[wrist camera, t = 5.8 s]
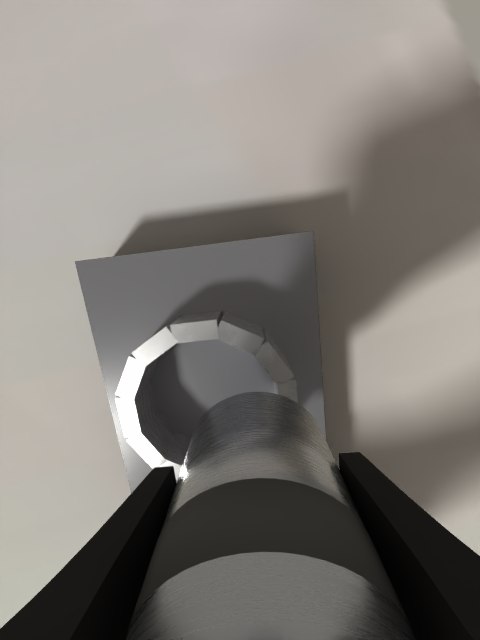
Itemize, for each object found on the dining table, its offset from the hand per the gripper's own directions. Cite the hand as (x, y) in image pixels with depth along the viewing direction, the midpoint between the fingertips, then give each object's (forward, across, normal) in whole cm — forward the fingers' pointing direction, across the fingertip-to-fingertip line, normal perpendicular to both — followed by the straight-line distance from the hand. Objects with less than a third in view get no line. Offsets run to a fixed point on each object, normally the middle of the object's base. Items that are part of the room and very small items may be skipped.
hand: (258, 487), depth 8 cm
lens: (+2, 0, 0) cm, 2 cm away
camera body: (+8, +2, +1) cm, 9 cm away
